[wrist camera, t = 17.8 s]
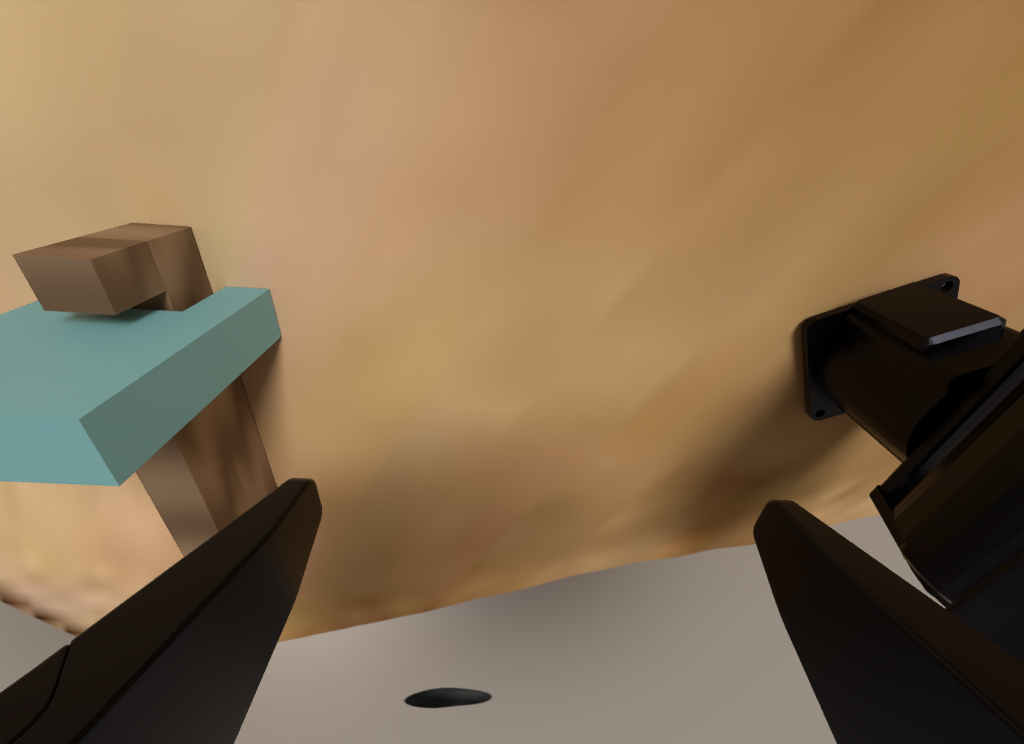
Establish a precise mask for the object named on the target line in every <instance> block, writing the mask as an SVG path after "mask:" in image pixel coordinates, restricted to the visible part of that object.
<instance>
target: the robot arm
mask: <svg viewBox="0 0 1024 744" xmlns="http://www.w3.org/2000/svg"><path fill="white" fill-rule="evenodd" d="M944 284H945V285H944ZM959 284H960V280H959V278H958V277H956V276H953V275H950V274H946V273H944V274H940V275H937V276H934V277H931V278H928V279H924V280H921V281H918V282H913V283H910V284H907V285H904V286H900V287H897V288H894V289H891V290H888V291H885V292H882V293H879V294H876V295H873V296H870V297H867V298H864V299H861V300H858V301H857V302H855V303H852V304H849V305H846V306H843V307H840V308H837V309H834V310H831V311H828V312H824V313H821V314H818V315H815V316H812V317H810V318H808V319H807V320H806V321H805V322H804V323H803V325H802V344H803V363H804V382H805V401H806V413H807V415H808V416H809V417H811V418H812V419H813V420H822V419H825V418H829V417H833V416H836V415H840V414H843V413H846V414H847V415H848V416H849V417H850V418H851V419H853V420H854V421H855V422H856V423H857V424H858V425H859V426H861V427H862V428H863V429H864V430H865V431H866V432H867V433H869V434H870V435H871V436H872V437H873V438H874V439H875V440H877V441H878V442H879V443H880V444H881V445H882V446H883V447H885V448H886V449H887V450H888V451H889V452H890V453H891V454H893V455H894V456H895V457H896V458H897V459H898V460H899V461H901V462H902V464H901V465H900V466H899V467H898V468H897V469H896V470H895V471H894V472H893V473H892V474H891V475H890V476H889V477H888V478H887V480H886V481H885V482H884V483H883V484H882V485H877V486H876V488H875V489H874V490H873V491H872V492H871V493H870V494H869V495H870V497H871V499H872V501H873V503H874V504H875V506H876V508H877V510H878V512H879V513H880V515H881V517H882V518H883V520H884V522H885V524H886V526H887V527H888V529H889V531H890V533H891V534H892V536H893V538H894V540H895V542H896V543H897V545H898V547H899V549H900V550H901V553H902V555H903V557H904V559H905V560H906V561H907V563H908V564H909V566H910V568H911V570H912V571H913V573H914V574H915V576H916V577H917V579H918V580H919V581H920V582H921V584H922V585H923V587H924V589H925V590H926V591H927V592H928V593H929V594H931V595H932V596H934V597H935V598H936V599H937V600H938V601H939V602H940V603H941V604H942V605H944V606H945V607H946V608H943V607H942V606H940V605H939V604H937V603H936V602H935V601H933V600H932V599H930V598H929V597H928V596H926V595H925V594H923V593H922V592H921V591H919V590H918V589H916V588H915V587H914V586H912V585H911V584H909V583H908V582H907V581H905V580H904V579H902V578H901V577H899V576H898V575H897V574H895V573H894V572H892V571H891V570H889V569H888V568H887V567H885V566H884V565H883V564H881V563H880V562H878V561H877V560H876V559H874V558H872V557H871V556H870V555H868V554H867V553H866V552H864V551H863V550H861V549H860V548H858V547H857V546H856V545H854V544H853V543H852V542H850V541H849V540H847V539H846V538H845V537H843V536H842V535H840V534H839V533H837V532H836V531H835V530H833V529H832V528H830V527H829V526H828V525H826V524H825V523H823V522H822V521H821V520H819V519H818V518H816V517H815V516H814V515H812V514H811V513H809V512H808V511H806V510H805V509H804V508H802V507H801V506H799V505H798V504H796V503H795V502H793V501H789V500H770V501H768V502H767V503H766V505H765V507H764V509H763V510H762V512H761V514H760V516H759V517H758V519H757V521H756V523H755V525H754V529H753V534H754V539H755V542H756V545H757V548H758V551H759V554H760V557H761V560H762V563H763V566H764V569H765V572H766V575H767V578H768V581H769V584H770V587H771V590H772V593H773V596H774V599H775V602H776V604H777V607H778V610H779V613H780V615H781V618H782V620H783V623H784V625H785V627H786V630H787V632H788V634H789V637H790V639H791V641H792V643H793V646H794V648H795V650H796V652H797V655H798V657H799V659H800V661H801V663H802V666H803V668H804V670H805V672H806V675H807V677H808V679H809V682H810V684H811V686H812V688H813V691H814V693H815V695H816V698H817V700H818V702H819V704H820V706H821V709H822V711H823V713H824V716H825V718H826V720H827V722H828V725H829V727H830V729H831V731H832V734H833V736H834V738H835V740H836V742H837V744H1024V329H1023V330H1022V331H1021V332H1018V331H1016V330H1013V329H1011V328H1009V327H1006V326H1005V325H1006V319H1005V318H1003V317H1001V316H999V315H997V314H994V313H992V312H989V311H987V310H984V309H982V308H979V307H977V306H974V305H972V304H969V303H967V302H964V301H962V300H959V299H957V297H958V291H959ZM943 285H944V286H943ZM942 286H943V287H942ZM817 324H818V326H817V327H816V328H815V329H813V327H814V326H815V325H817ZM812 329H813V330H812ZM818 410H819V411H818ZM817 411H818V412H817ZM321 516H322V505H321V502H320V498H319V494H318V490H317V486H316V483H315V481H314V480H313V479H307V478H292V479H289V480H288V481H286V482H285V483H283V484H282V485H281V486H279V487H278V488H277V489H275V490H274V491H273V492H271V493H270V494H268V495H267V496H266V497H264V498H263V499H262V500H260V501H259V502H258V503H256V504H255V505H254V506H252V507H251V508H250V509H248V510H247V511H246V512H244V513H243V514H242V515H240V516H239V517H237V518H236V519H235V520H233V521H232V522H231V523H229V524H228V525H227V526H225V527H224V528H223V529H221V530H220V531H219V532H217V533H216V534H215V535H213V536H212V537H211V538H209V539H208V540H206V541H205V542H204V543H202V544H201V545H200V546H198V547H197V548H196V549H194V550H193V551H192V552H190V553H189V554H188V555H186V556H185V557H184V558H182V559H181V560H180V561H178V562H177V563H175V564H174V565H173V566H171V567H170V568H169V569H167V570H166V571H165V572H163V573H162V574H161V575H159V576H158V577H157V578H155V579H154V580H153V581H151V582H150V583H149V584H147V585H146V586H144V587H143V588H142V589H140V590H139V591H138V592H136V593H135V594H134V595H132V596H131V597H130V598H128V599H127V600H126V601H124V602H123V603H122V604H120V605H119V606H118V607H116V608H115V609H114V610H112V611H111V612H109V613H108V614H107V615H105V616H104V617H103V618H101V619H100V620H99V621H97V622H96V623H95V624H93V625H92V626H91V627H89V628H88V629H87V630H85V631H84V632H83V633H81V634H80V635H78V636H77V637H76V638H74V639H73V640H72V642H71V644H70V645H65V646H63V647H62V648H61V649H59V650H58V651H57V652H55V653H54V654H53V655H51V656H50V657H49V658H47V659H46V660H44V661H43V662H42V663H41V664H39V665H38V666H36V667H35V668H34V669H32V670H31V671H30V672H29V673H27V674H26V675H24V676H23V677H21V678H20V679H19V680H17V681H16V682H14V683H13V684H12V685H10V686H9V687H7V688H6V689H5V690H3V691H2V692H0V744H234V742H235V739H236V737H237V735H238V733H239V730H240V728H241V726H242V723H243V721H244V719H245V716H246V714H247V712H248V709H249V707H250V705H251V702H252V700H253V698H254V695H255V693H256V691H257V688H258V686H259V684H260V681H261V679H262V677H263V674H264V672H265V670H266V667H267V665H268V663H269V660H270V658H271V655H272V653H273V651H274V649H275V646H276V644H277V642H278V640H279V637H280V635H281V633H282V630H283V628H284V626H285V623H286V621H287V619H288V616H289V614H290V612H291V609H292V607H293V604H294V602H295V599H296V597H297V594H298V591H299V588H300V585H301V581H302V578H303V575H304V572H305V569H306V565H307V562H308V559H309V556H310V553H311V549H312V546H313V543H314V540H315V537H316V533H317V530H318V527H319V524H320V521H321Z"/></svg>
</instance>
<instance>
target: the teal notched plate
mask: <svg viewBox="0 0 1024 744" xmlns="http://www.w3.org/2000/svg"><path fill="white" fill-rule="evenodd" d="M280 337H281V333H280V329H279V325H278V322H277V318H276V314H275V310H274V306H273V302H272V298H271V294H270V290H269V289H259V288H241V287H225V288H223V289H221V290H219V291H218V292H216V293H214V294H212V295H211V296H209V297H207V298H205V299H204V300H202V301H200V302H198V303H197V304H195V305H193V306H191V307H190V308H188V309H186V310H184V311H183V312H181V311H163V310H145V309H128V310H126V311H124V312H121V313H119V314H117V315H108V314H91V313H74V312H57V311H44V309H43V308H42V306H41V304H40V302H39V301H36V302H33V303H30V304H28V305H25V306H22V307H20V308H17V309H14V310H12V311H9V312H6V313H4V314H1V315H0V481H10V482H34V483H57V484H80V485H103V486H120V485H121V484H122V483H123V482H124V481H126V480H127V479H128V478H129V477H130V476H131V475H132V474H133V473H134V472H135V471H136V470H137V469H138V468H140V467H141V466H142V465H143V464H144V463H145V462H146V461H147V460H148V459H149V458H150V457H151V456H153V455H154V454H155V453H156V452H157V451H158V450H159V449H160V448H161V447H162V446H163V445H164V444H166V443H167V442H168V441H169V440H170V439H171V438H172V437H173V436H174V435H175V434H176V433H177V432H179V431H180V430H181V429H182V428H183V427H184V426H185V425H186V424H187V423H188V422H189V421H190V420H192V419H193V418H194V417H195V416H196V415H197V414H198V413H199V412H200V411H201V410H202V409H203V408H204V407H206V406H207V405H208V404H209V403H210V402H211V401H212V400H213V399H214V398H215V397H216V396H217V395H219V394H220V393H221V392H222V391H223V390H224V389H225V388H226V387H227V386H228V385H229V384H230V383H232V382H233V381H234V380H235V379H236V378H237V377H238V376H239V375H240V374H241V373H242V372H243V371H245V370H246V369H247V368H248V367H249V366H250V365H251V364H252V363H253V362H254V361H255V360H256V359H258V358H259V357H260V356H261V355H262V354H263V353H264V352H265V351H266V350H267V349H268V348H269V347H270V346H272V345H273V344H274V343H275V342H276V341H277V340H278V339H279V338H280Z"/></svg>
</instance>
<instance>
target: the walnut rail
mask: <svg viewBox="0 0 1024 744" xmlns="http://www.w3.org/2000/svg"><path fill="white" fill-rule="evenodd" d="M13 256H14V258H15V260H16V262H17V264H18V265H19V267H20V269H21V271H22V272H23V274H24V276H25V278H26V279H27V281H28V283H29V285H30V286H31V288H32V290H33V292H34V293H35V295H36V297H37V299H38V301H39V302H40V304H41V306H42V308H43V309H44V311H57V312H74V313H91V314H108V315H117V314H119V313H121V312H124V311H126V310H128V309H145V310H163V311H181V312H183V311H184V310H186V309H188V308H190V307H191V306H193V305H195V304H197V303H198V302H200V301H202V300H204V299H205V298H207V297H209V296H211V295H212V294H213V293H212V290H211V287H210V284H209V281H208V278H207V275H206V272H205V269H204V266H203V263H202V260H201V257H200V254H199V251H198V248H197V245H196V242H195V239H194V236H193V233H192V230H191V227H185V226H170V225H155V224H139V223H130V224H126V225H122V226H119V227H115V228H111V229H107V230H104V231H100V232H96V233H92V234H89V235H85V236H81V237H77V238H74V239H70V240H66V241H62V242H59V243H55V244H51V245H47V246H44V247H40V248H36V249H32V250H29V251H25V252H21V253H17V254H13ZM135 472H136V473H137V475H138V477H139V479H140V480H141V482H142V484H143V486H144V487H145V489H146V491H147V493H148V494H149V496H150V498H151V500H152V501H153V503H154V505H155V507H156V509H157V510H158V512H159V514H160V516H161V517H162V519H163V521H164V523H165V524H166V526H167V528H168V530H169V531H170V533H171V535H172V537H173V539H174V540H175V542H176V544H177V546H178V547H179V549H180V551H181V553H182V554H183V556H184V557H185V556H186V555H188V554H189V553H190V552H192V551H193V550H194V549H196V548H197V547H198V546H200V545H201V544H202V543H204V542H205V541H206V540H208V539H209V538H211V537H212V536H213V535H215V534H216V533H217V532H219V531H220V530H221V529H223V528H224V527H225V526H227V525H228V524H229V523H231V522H232V521H233V520H235V519H236V518H237V517H239V516H240V515H242V514H243V513H244V512H246V511H247V510H248V509H250V508H251V507H252V506H254V505H255V504H256V503H258V502H259V501H260V500H262V499H263V498H264V497H266V496H267V495H268V494H270V493H271V492H273V491H274V490H275V489H277V487H276V484H275V481H274V478H273V475H272V472H271V469H270V466H269V463H268V460H267V457H266V454H265V451H264V448H263V444H262V441H261V438H260V435H259V432H258V429H257V426H256V423H255V420H254V417H253V414H252V411H251V408H250V405H249V402H248V399H247V396H246V393H245V390H244V387H243V384H242V381H241V378H240V375H239V376H238V377H237V378H236V379H235V380H234V381H233V382H232V383H230V384H229V385H228V386H227V387H226V388H225V389H224V390H223V391H222V392H221V393H220V394H219V395H217V396H216V397H215V398H214V399H213V400H212V401H211V402H210V403H209V404H208V405H207V406H206V407H204V408H203V409H202V410H201V411H200V412H199V413H198V414H197V415H196V416H195V417H194V418H193V419H192V420H190V421H189V422H188V423H187V424H186V425H185V426H184V427H183V428H182V429H181V430H180V431H179V432H177V433H176V434H175V435H174V436H173V437H172V438H171V439H170V440H169V441H168V442H167V443H166V444H164V445H163V446H162V447H161V448H160V449H159V450H158V451H157V452H156V453H155V454H154V455H153V456H151V457H150V458H149V459H148V460H147V461H146V462H145V463H144V464H143V465H142V466H141V467H140V468H138V469H137V470H136V471H135Z"/></svg>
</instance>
